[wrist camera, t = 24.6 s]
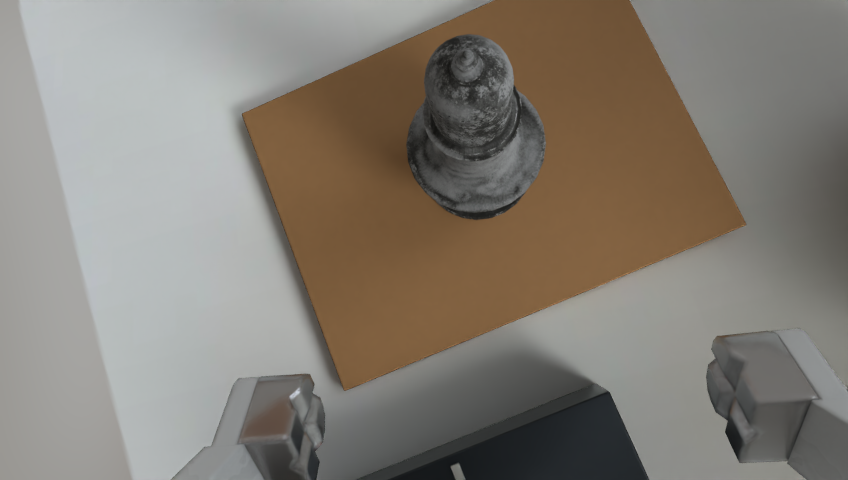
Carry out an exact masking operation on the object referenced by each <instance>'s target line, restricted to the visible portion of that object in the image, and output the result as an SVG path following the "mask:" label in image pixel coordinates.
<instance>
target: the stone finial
mask: <svg viewBox="0 0 848 480" xmlns="http://www.w3.org/2000/svg"><path fill="white" fill-rule="evenodd" d="M424 87H425V94H426V97H425V99H424V103H423V104H422V105H421V106H420V108H419V109H418V110H417V111H416V113H415V116H414V118H413V120H412V122H411V125H410V127H409V131H408V137H407V143H406V147H407V157H408V163H409V166H410V168H411V171H412V173H413V176H414V178H415V180H416V181H417V182H418V184H419V185H420V186H421V188H422V189H423V190H424V192H425V193H426V194H427V195H429V196H430V197H431V198H433V199H434V200H435V201H436V202H437V203H438V204H439V205H440V206H441V207H443V208H444V209H445V210H446V211H448V212H449V213H451V214H454V215H456V216H459V217H461V218H466V219H473V220H481V219H489V218H493V217H495V216H498V215H500V214H503V213H505V212H506V211H508V210H509V209H510V208H512V207H513V206H515V205H516V204H517V203H518V201H519V200H520V199H521V198H522V196H523V195H524V194H525V193H526V191H527V189H528V188H529V187H530V186H531V184H532V183H533V182H534V181H535V179H536V178H537V175H538V173H539V171H540V168H541V166H542V164H543V161H544V154H545V147H546V140H545V133H544V126H543V123H542V121H541V119H540V117H539V114H538V112H537V110H536V108H535V107H534V106H533V105H532V104H531V102H530V101H529V100H528V99H527V98H526V96H525V95H523V94H522V93H520V92H519V91H517V89H516V87H515V85H514V75H513V68H512V66H511V63H510V61H509V59H508V57H507V55H506V53H505V52H504V51H503V50H502V48H501V47H500V46H499V45H498V44H496V43H495V42H493V41H492V40H491V39H488V38H486V37H483V36H480V35H472V34H466V35H460V36H456V37H454V38H451V39H449V40H447V41H445V42H444V43H443V44H441V45H440V46H439V47H438V48H437V49H436V50H435V51H434V53H433V54H432V55H431V57H430V59H429V62H428V64H427V66H426V70H425V77H424Z"/></svg>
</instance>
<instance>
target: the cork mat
mask: <svg viewBox="0 0 848 480" xmlns="http://www.w3.org/2000/svg"><path fill="white" fill-rule="evenodd" d="M466 34H472V35H480V36H483V37H486V38H488V39H491V40H492V41H493V42H495V43H496V44H498V45H499V46H500V47H501V48H502V50H503V51H504V52H505V53H506V55H507V57H508V59H509V61H510V63H511V66H512V68H513V75H514V85H515V87H516V89H517V91H519V92H520V93H522V94H523V95H525V96H526V98H527V99H528V100H529V101H530V102H531V104H532V105H533V106H534V107H535V108H536V110H537V112H538V114H539V117H540V119H541V121H542V123H543V126H544V133H545V140H546V147H545V154H544V161H543V164H542V166H541V168H540V171H539V173H538V175H537V178H536V179H535V181H534V182H533V183H532V184H531V186H530V187H529V188H528V189H527V191H526V193H525V194H524V195H523V196H522V198H521V199H520V200H519V201H518V203H517V204H516V205H515V206H513V207H512V208H510V209H509V210H508V211H506V212H505V213H503V214H500V215H498V216H495V217H493V218H489V219H481V220H473V219H466V218H461V217H459V216H456V215H454V214H451V213H449V212H448V211H446V210H445V209H444V208H443V207H441V206H440V205H439V204H438V203H437V202H436V201H435V200H434V199H433V198H431V197H430V196H429V195H427V194H426V193H425V192H424V190H423V189H422V188H421V186H420V185H419V184H418V182H417V181H416V180H415V178H414V176H413V173H412V171H411V168H410V166H409V163H408V157H407V147H406V143H407V137H408V131H409V127H410V125H411V122H412V120H413V118H414V116H415V113H416V111H417V110H418V109H419V108H420V106H421V105H422V104H423V103H424V99H425V97H426V94H425V87H424V77H425V70H426V66H427V64H428V62H429V59H430V57H431V55H432V54H433V53H434V51H435V50H436V49H437V48H438V47H439V46H440V45H441V44H443V43H444V42H445V41H447V40H449V39H451V38H454V37H456V36H460V35H466ZM242 116H243V119H244V122H245V125H246V127H247V130H248V133H249V135H250V138H251V141H252V143H253V146H254V149H255V152H256V154H257V157H258V160H259V162H260V165H261V168H262V170H263V173H264V176H265V179H266V181H267V184H268V187H269V189H270V192H271V195H272V197H273V200H274V203H275V206H276V208H277V211H278V214H279V216H280V219H281V222H282V224H283V227H284V230H285V233H286V235H287V238H288V241H289V243H290V246H291V249H292V251H293V254H294V257H295V260H296V262H297V265H298V268H299V270H300V273H301V276H302V278H303V281H304V284H305V287H306V289H307V292H308V295H309V297H310V300H311V303H312V306H313V308H314V311H315V314H316V316H317V319H318V322H319V324H320V327H321V330H322V333H323V335H324V338H325V341H326V343H327V346H328V349H329V351H330V354H331V357H332V360H333V362H334V365H335V368H336V370H337V373H338V376H339V378H340V381H341V384H342V387H343V389H344V391H346V390H348V389H351V388H353V387H355V386H358V385H360V384H363V383H365V382H368V381H370V380H372V379H375V378H377V377H380V376H382V375H385V374H387V373H389V372H392V371H394V370H397V369H399V368H401V367H404V366H406V365H409V364H411V363H414V362H416V361H418V360H421V359H423V358H426V357H428V356H430V355H433V354H435V353H438V352H440V351H443V350H445V349H447V348H450V347H452V346H455V345H457V344H460V343H462V342H464V341H467V340H469V339H472V338H474V337H476V336H479V335H481V334H484V333H486V332H489V331H491V330H493V329H496V328H498V327H501V326H503V325H506V324H508V323H510V322H513V321H515V320H518V319H520V318H522V317H525V316H527V315H530V314H532V313H535V312H537V311H539V310H542V309H544V308H547V307H549V306H551V305H554V304H556V303H559V302H561V301H564V300H566V299H568V298H571V297H573V296H576V295H578V294H581V293H583V292H585V291H588V290H590V289H593V288H595V287H597V286H600V285H602V284H605V283H607V282H610V281H612V280H614V279H617V278H619V277H622V276H624V275H627V274H629V273H631V272H634V271H636V270H639V269H641V268H643V267H646V266H648V265H651V264H653V263H656V262H658V261H660V260H663V259H665V258H668V257H670V256H672V255H675V254H677V253H680V252H682V251H685V250H687V249H689V248H692V247H694V246H697V245H699V244H702V243H704V242H706V241H709V240H711V239H714V238H716V237H718V236H721V235H723V234H726V233H728V232H731V231H733V230H735V229H738V228H740V227H743V226H745V225H746V223H745V221H744V219H743V217H742V215H741V213H740V211H739V209H738V207H737V205H736V203H735V201H734V200H733V198H732V196H731V194H730V192H729V190H728V188H727V186H726V184H725V182H724V180H723V178H722V177H721V175H720V173H719V171H718V169H717V167H716V165H715V163H714V161H713V159H712V157H711V156H710V154H709V152H708V150H707V148H706V146H705V144H704V142H703V140H702V138H701V136H700V134H699V133H698V131H697V129H696V127H695V125H694V123H693V121H692V119H691V117H690V115H689V113H688V111H687V110H686V108H685V106H684V104H683V102H682V100H681V98H680V96H679V94H678V92H677V90H676V88H675V87H674V85H673V83H672V81H671V79H670V77H669V75H668V73H667V71H666V69H665V67H664V65H663V64H662V62H661V60H660V58H659V56H658V54H657V52H656V50H655V48H654V46H653V44H652V42H651V41H650V39H649V37H648V35H647V33H646V31H645V29H644V27H643V25H642V23H641V21H640V19H639V18H638V16H637V14H636V12H635V10H634V8H633V6H632V4H631V2H630V0H494V1H492V2H490V3H488V4H485V5H483V6H481V7H479V8H476V9H474V10H472V11H470V12H468V13H465V14H463V15H461V16H459V17H456V18H454V19H452V20H450V21H447V22H445V23H443V24H441V25H439V26H436V27H434V28H432V29H430V30H427V31H425V32H423V33H421V34H419V35H416V36H414V37H412V38H410V39H407V40H405V41H403V42H401V43H398V44H396V45H394V46H392V47H390V48H387V49H385V50H383V51H381V52H378V53H376V54H374V55H372V56H370V57H367V58H365V59H363V60H361V61H358V62H356V63H354V64H352V65H349V66H347V67H345V68H343V69H341V70H338V71H336V72H334V73H332V74H329V75H327V76H325V77H323V78H321V79H318V80H316V81H314V82H312V83H309V84H307V85H305V86H303V87H300V88H298V89H296V90H294V91H292V92H289V93H287V94H285V95H283V96H280V97H278V98H276V99H274V100H271V101H269V102H267V103H265V104H263V105H260V106H258V107H256V108H254V109H251V110H249V111H247V112H245V113H243V114H242Z"/></svg>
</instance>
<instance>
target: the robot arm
mask: <svg viewBox="0 0 848 480" xmlns="http://www.w3.org/2000/svg"><path fill="white" fill-rule="evenodd" d="M711 350H712V352H713V354H714V356H715V358H716V359H714V360H713V361H712V362H711V363H710V364H709V365H708V369H707V375H706V379H707V389H708V393H709V396H710V400H711V402H712V404H713V407H714V409H715V411H716V413H718V414H719V415H721V416H722V417H723V418H725V419H726V420H728V422H727V426H726V430H725V433H726V435H727V437H728V439H729V442H730V444H731V446H732V448H733V450H734V452H735V454H736V456H737V459H738V461H739V463H751V462H776V461H788V462H787V464H789V465H790V466H791V467H792V468H793V469H794V470H796V471H797V472H798V473H799V474H800V475H802V476H803V477H804V478H805V479H806V480H848V390H847V389H846V387H845V386H844V385H843V383H842V382H841V380H840V379H839V378H838V376H837V375H836V373H835V372H834V371H833V369H832V368H831V366H830V365H829V364H828V362H827V361H826V359H825V358H824V357H823V355H822V354H821V352H820V351H819V350H818V348H817V347H816V345H815V344H814V343H813V341H812V340H811V338H810V337H809V336H808V334H807V333H806V332H805V331H803V330H802V329H800V328H798V329H787V330H776V331H762V332H752V333H742V334H733V335H723V336H717V337H716V338H715V339H714V340H713V344H712V349H711ZM313 389H314V382H313V380H312V378H311V376H310V374H294V375H278V376H262V377H251V378H239V379H238V380H237V381H236V382H235V383H234V385H233V387H232V389H231V392H230V395H229V398H228V401H227V403H226V406H225V409H224V412H223V415H222V417H221V420H220V423H219V426H218V429H217V431H216V434H215V437H214V440H213V442H212V445H211V446H210V447H204V448H203V449H202V450H201V451H200V452H199V453H198V454H197V455H196V456H195V457H194V458H193V459H192V460H191V461H190V462H189V463H188V464H186V465H185V466H184V467H183V468H182V469H181V470H180V471H179V472H178V473H177V474H176V475H175V476H174V477H173V478H172V479H171V480H316V478H317V473H318V467H319V462H320V461H319V459H318V457H317V455H316V452H315V451H316V450H317V448H318V447H319V446H320V445H321V444H322V443H323V440H324V433H325V413H324V407H323V404H322V401H321V399H320V397H318V396H316V395H315V394H313Z"/></svg>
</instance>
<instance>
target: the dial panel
mask: <svg viewBox="0 0 848 480" xmlns="http://www.w3.org/2000/svg"><path fill="white" fill-rule="evenodd" d="M357 480H649V478H648V476H647V474H646V472H645V469H644V467H643V465H642V463H641V461H640V458H639V456H638V454H637V452H636V450H635V447H634V445H633V443H632V441H631V438H630V436H629V434H628V432H627V430H626V427H625V425H624V423H623V421H622V419H621V416H620V414H619V412H618V410H617V408H616V405H615V403H614V401H613V399H612V396H611V394H610V392H609V391H607V390H605V389H604V388H602V387H601V386H599V385H597V384H593V385H591V386H588V387H586V388H583V389H581V390H578V391H576V392H573V393H571V394H568V395H566V396H563V397H561V398H558V399H556V400H553V401H551V402H548V403H546V404H543V405H541V406H538V407H536V408H533V409H531V410H529V411H526V412H524V413H521V414H519V415H516V416H514V417H511V418H509V419H506V420H504V421H501V422H499V423H496V424H494V425H491V426H489V427H486V428H484V429H481V430H479V431H476V432H474V433H471V434H469V435H466V436H464V437H462V438H459V439H457V440H454V441H452V442H449V443H447V444H444V445H442V446H439V447H437V448H434V449H432V450H429V451H427V452H424V453H422V454H419V455H417V456H414V457H412V458H409V459H407V460H404V461H402V462H399V463H397V464H394V465H392V466H390V467H387V468H385V469H382V470H380V471H377V472H375V473H372V474H370V475H367V476H365V477H362V478H360V479H357Z"/></svg>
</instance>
